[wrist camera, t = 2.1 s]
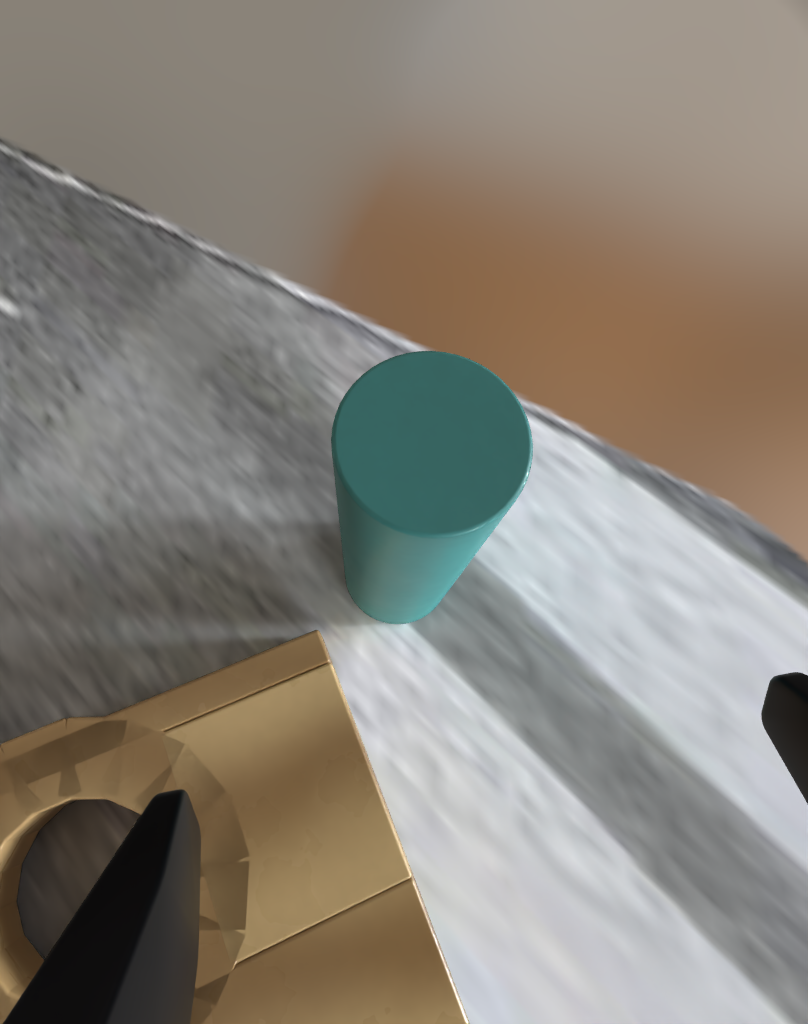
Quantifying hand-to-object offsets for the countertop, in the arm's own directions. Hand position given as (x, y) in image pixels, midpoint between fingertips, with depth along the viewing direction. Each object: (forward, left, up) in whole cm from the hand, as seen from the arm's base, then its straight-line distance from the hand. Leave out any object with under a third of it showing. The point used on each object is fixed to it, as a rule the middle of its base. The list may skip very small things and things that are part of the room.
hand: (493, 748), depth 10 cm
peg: (+5, -1, -11) cm, 12 cm away
